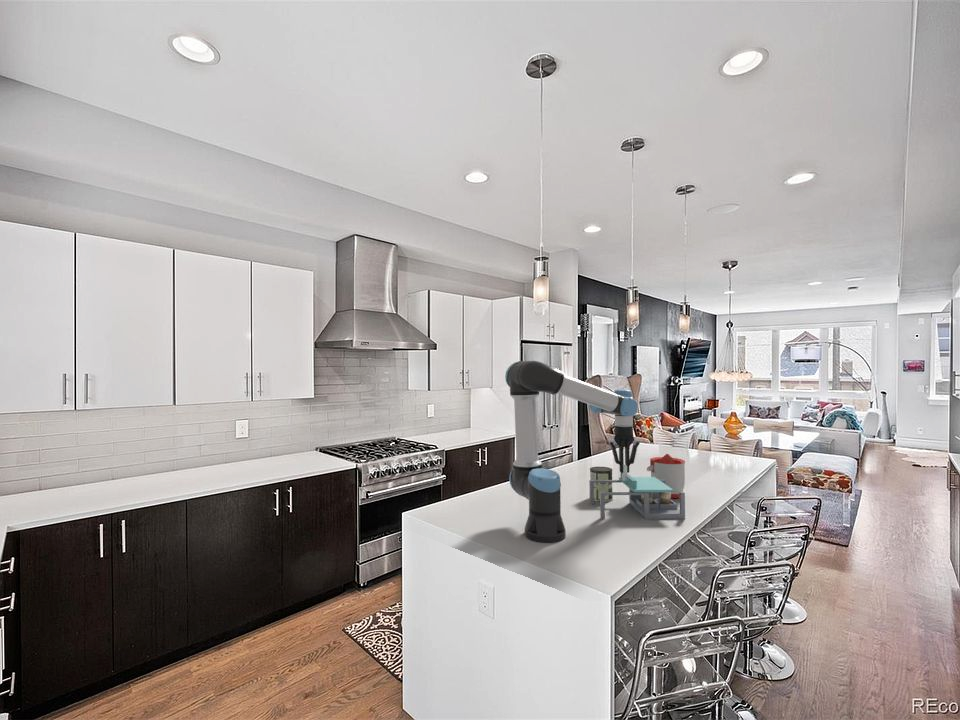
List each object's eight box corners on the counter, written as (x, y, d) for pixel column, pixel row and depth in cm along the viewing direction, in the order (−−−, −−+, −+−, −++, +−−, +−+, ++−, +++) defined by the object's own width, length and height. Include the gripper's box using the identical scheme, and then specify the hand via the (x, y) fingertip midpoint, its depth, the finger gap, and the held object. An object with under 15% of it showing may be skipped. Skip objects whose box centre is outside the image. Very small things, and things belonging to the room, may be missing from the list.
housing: (685, 518, 191) (684, 492, 191) (601, 519, 191) (600, 493, 191) (664, 502, 213) (664, 479, 213) (589, 503, 213) (589, 480, 213)
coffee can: (603, 494, 227) (603, 465, 227) (617, 500, 217) (617, 469, 217) (585, 497, 223) (585, 467, 223) (598, 503, 213) (598, 472, 214)
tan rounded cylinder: (643, 508, 199) (643, 489, 199) (640, 505, 203) (639, 486, 203) (654, 508, 198) (653, 489, 199) (650, 504, 203) (650, 486, 203)
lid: (673, 492, 191) (673, 481, 191) (633, 492, 191) (633, 482, 191) (654, 479, 213) (654, 469, 213) (618, 479, 213) (618, 469, 213)
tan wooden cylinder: (672, 508, 198) (672, 489, 199) (661, 508, 199) (661, 489, 199) (668, 504, 203) (668, 486, 203) (658, 504, 203) (657, 486, 203)
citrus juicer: (643, 490, 233) (642, 450, 233) (679, 491, 232) (678, 450, 232) (651, 499, 218) (651, 456, 218) (690, 500, 216) (689, 457, 216)
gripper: (636, 424, 206) (637, 477, 206) (606, 424, 206) (607, 478, 206) (641, 426, 199) (642, 482, 198) (610, 426, 199) (611, 482, 199)
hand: (624, 480), depth 202 cm, fingers closed
